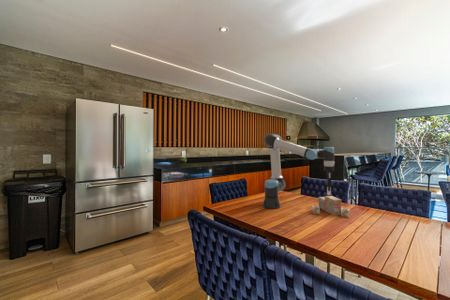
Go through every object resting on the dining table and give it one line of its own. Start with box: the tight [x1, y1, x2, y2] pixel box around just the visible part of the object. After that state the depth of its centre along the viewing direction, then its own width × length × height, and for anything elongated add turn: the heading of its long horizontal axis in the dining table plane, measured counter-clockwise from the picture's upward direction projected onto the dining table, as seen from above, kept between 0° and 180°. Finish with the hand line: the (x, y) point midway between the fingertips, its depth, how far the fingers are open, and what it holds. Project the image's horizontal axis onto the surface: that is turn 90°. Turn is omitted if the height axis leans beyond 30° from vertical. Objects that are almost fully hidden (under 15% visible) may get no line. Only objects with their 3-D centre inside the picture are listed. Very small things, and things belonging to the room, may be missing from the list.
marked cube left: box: [311, 205, 321, 215], centre depth 173 cm, size 5×5×5 cm
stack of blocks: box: [318, 195, 342, 216], centre depth 176 cm, size 21×6×12 cm, turn 8°
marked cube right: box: [340, 207, 350, 218], centre depth 165 cm, size 5×5×5 cm
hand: (328, 194), depth 175 cm, fingers closed
